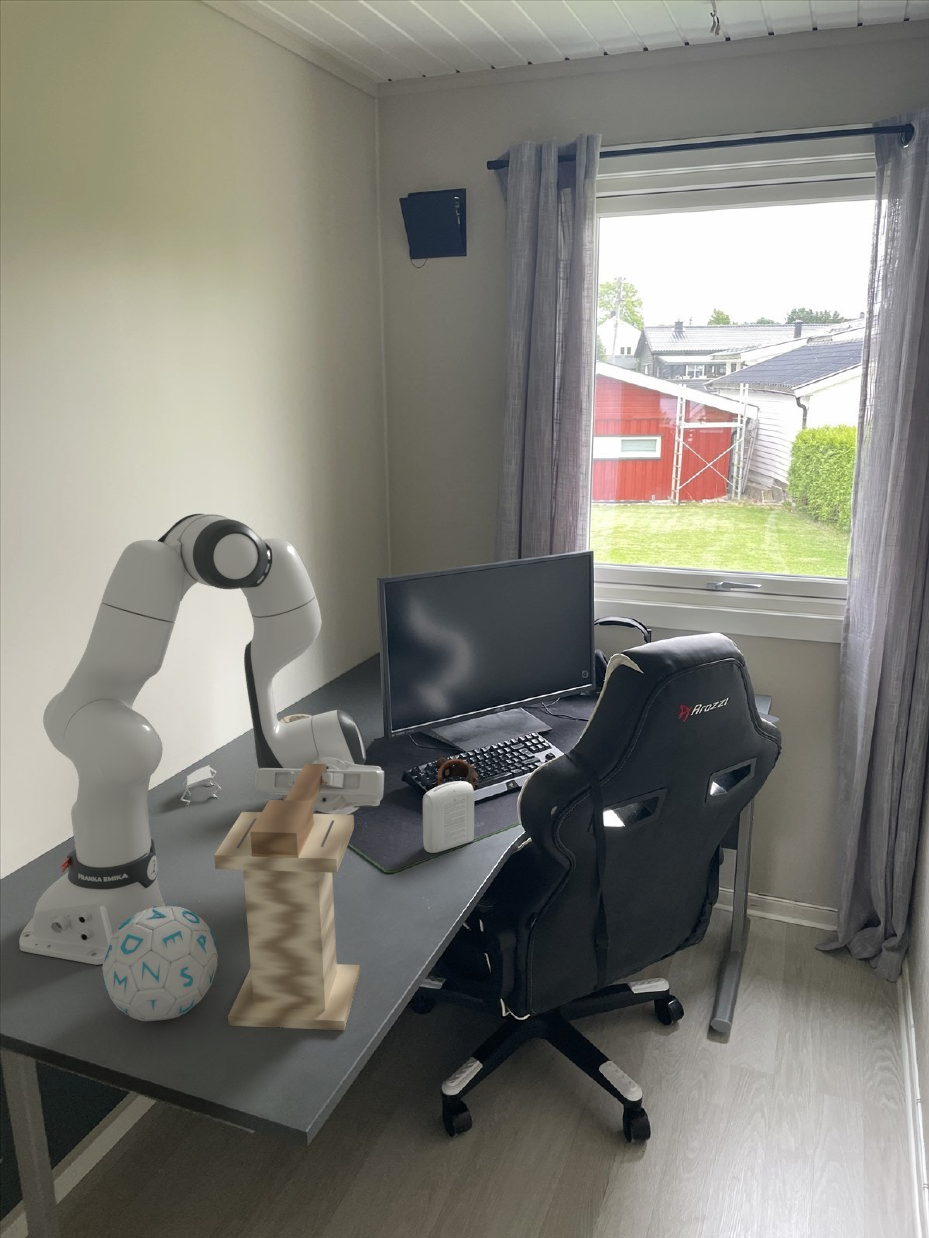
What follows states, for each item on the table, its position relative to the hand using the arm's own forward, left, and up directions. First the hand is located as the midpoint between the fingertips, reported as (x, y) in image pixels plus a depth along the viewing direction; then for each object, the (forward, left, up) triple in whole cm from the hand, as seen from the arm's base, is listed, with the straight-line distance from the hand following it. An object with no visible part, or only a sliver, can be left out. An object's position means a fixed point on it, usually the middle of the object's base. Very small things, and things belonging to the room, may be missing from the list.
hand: (310, 777), depth 135 cm
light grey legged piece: (-35, +49, -28) cm, 67 cm away
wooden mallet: (0, -8, -2) cm, 8 cm away
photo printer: (+18, +31, -28) cm, 45 cm away
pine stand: (0, -14, -28) cm, 31 cm away
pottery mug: (+18, +54, -28) cm, 63 cm away
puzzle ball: (-18, -17, -28) cm, 37 cm away
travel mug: (-14, +47, -28) cm, 56 cm away
